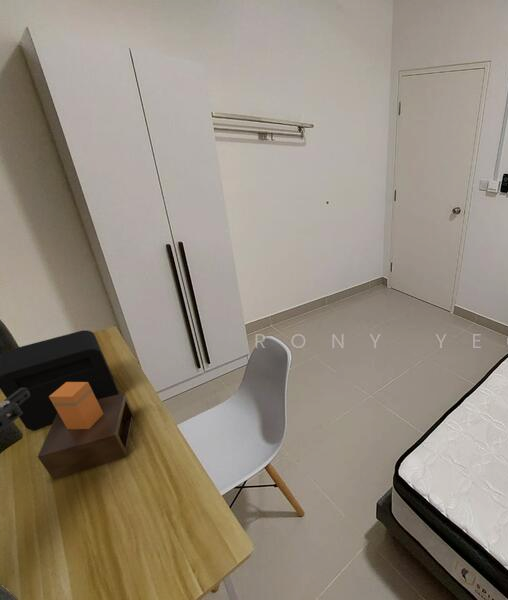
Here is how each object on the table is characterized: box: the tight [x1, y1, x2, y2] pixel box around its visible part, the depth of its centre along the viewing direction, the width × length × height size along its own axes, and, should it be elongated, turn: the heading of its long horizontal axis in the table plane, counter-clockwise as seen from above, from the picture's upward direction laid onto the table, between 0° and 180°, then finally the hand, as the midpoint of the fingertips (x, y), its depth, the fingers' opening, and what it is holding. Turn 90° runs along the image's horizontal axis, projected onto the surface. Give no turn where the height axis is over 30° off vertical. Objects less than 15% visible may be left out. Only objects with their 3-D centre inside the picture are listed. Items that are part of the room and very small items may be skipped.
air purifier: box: [0, 329, 120, 431], centre depth 96 cm, size 20×15×20 cm
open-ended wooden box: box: [37, 392, 135, 481], centre depth 86 cm, size 14×16×9 cm
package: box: [49, 382, 103, 429], centre depth 81 cm, size 5×5×11 cm
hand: (3, 390), depth 64 cm, fingers open, 8 cm apart
